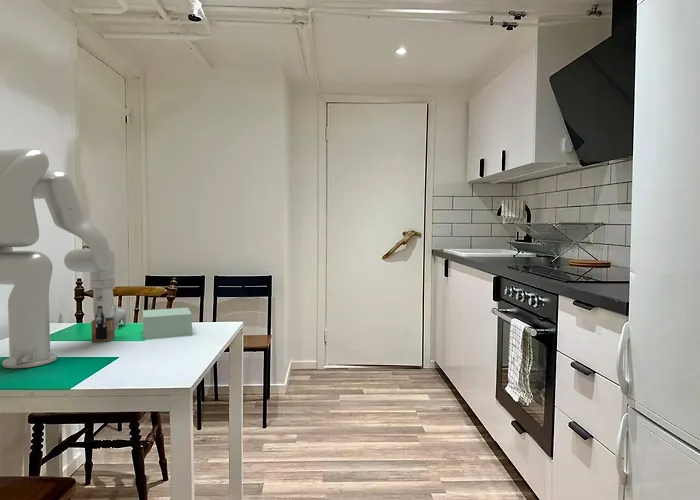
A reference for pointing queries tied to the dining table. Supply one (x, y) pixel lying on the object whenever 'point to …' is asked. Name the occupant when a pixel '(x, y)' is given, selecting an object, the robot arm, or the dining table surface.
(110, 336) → the walnut block
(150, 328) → the sage box
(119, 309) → the white dog figurine
